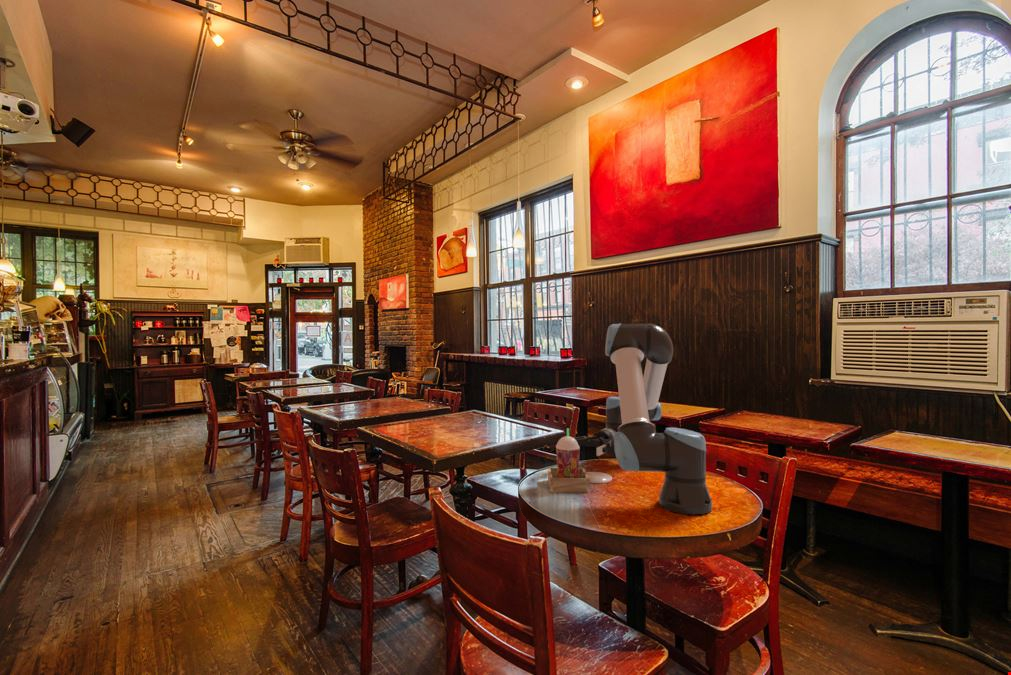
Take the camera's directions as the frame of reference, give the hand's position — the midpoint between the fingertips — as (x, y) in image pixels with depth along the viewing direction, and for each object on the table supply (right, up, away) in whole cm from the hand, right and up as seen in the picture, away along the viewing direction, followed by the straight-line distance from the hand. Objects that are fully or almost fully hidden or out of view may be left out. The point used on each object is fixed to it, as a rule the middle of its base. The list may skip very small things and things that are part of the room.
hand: (580, 449), depth 168 cm
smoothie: (-6, -11, -7) cm, 14 cm away
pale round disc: (+6, -11, +1) cm, 12 cm away
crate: (-6, -11, -7) cm, 14 cm away
